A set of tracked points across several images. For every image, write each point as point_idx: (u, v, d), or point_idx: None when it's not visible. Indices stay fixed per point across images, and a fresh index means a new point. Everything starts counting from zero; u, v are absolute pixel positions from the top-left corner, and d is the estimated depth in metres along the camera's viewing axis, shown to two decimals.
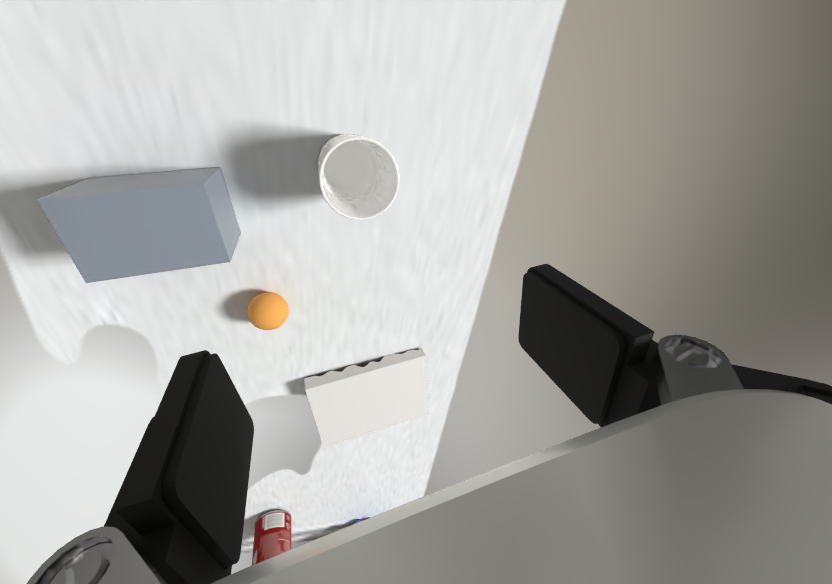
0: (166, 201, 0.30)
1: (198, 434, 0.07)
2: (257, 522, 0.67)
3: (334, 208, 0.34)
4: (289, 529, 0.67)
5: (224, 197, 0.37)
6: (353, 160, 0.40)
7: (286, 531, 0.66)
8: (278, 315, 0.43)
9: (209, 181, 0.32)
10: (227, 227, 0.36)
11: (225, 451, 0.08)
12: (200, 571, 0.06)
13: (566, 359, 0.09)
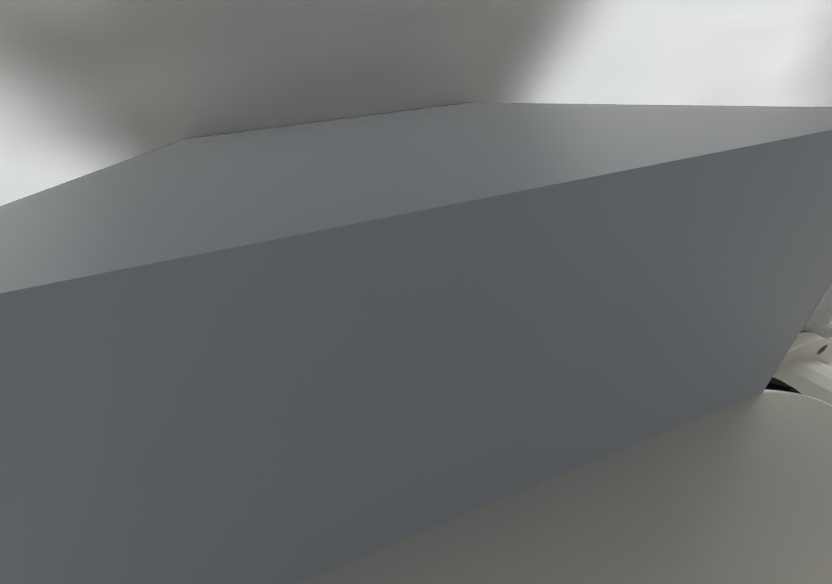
0: None
1: None
2: None
3: None
4: None
5: None
6: None
7: None
8: None
9: None
10: None
11: None
12: None
13: None
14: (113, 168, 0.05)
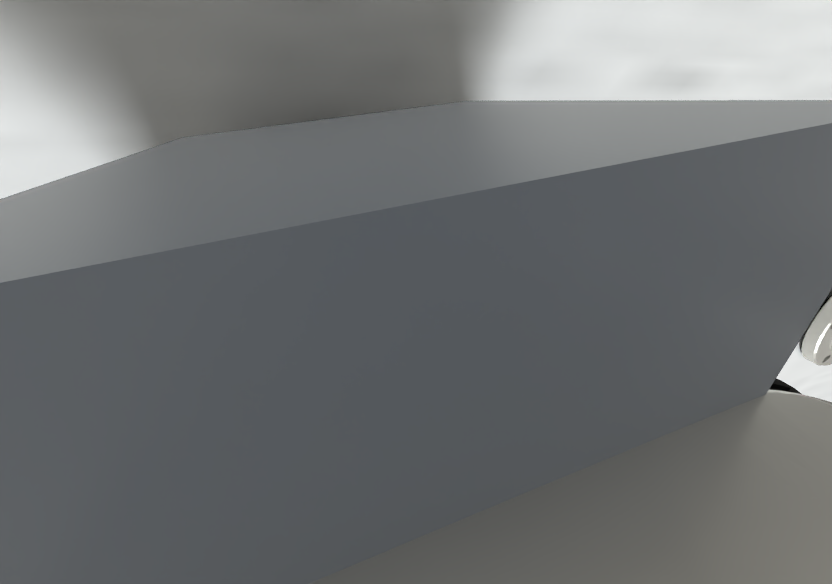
0: None
1: None
2: None
3: None
4: None
5: None
6: None
7: None
8: None
9: None
10: None
11: None
12: None
13: None
14: (109, 165, 0.05)
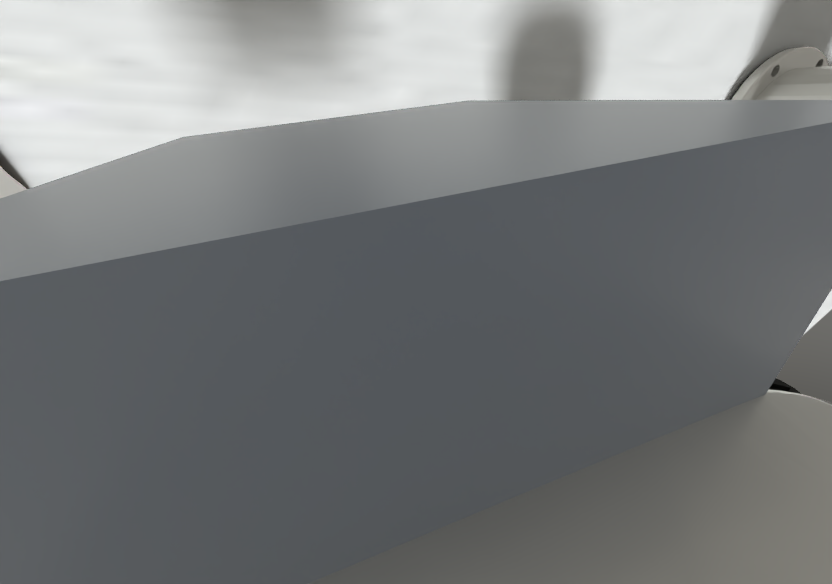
0: None
1: None
2: None
3: None
4: None
5: None
6: None
7: None
8: None
9: None
10: None
11: None
12: None
13: None
14: (109, 165, 0.05)
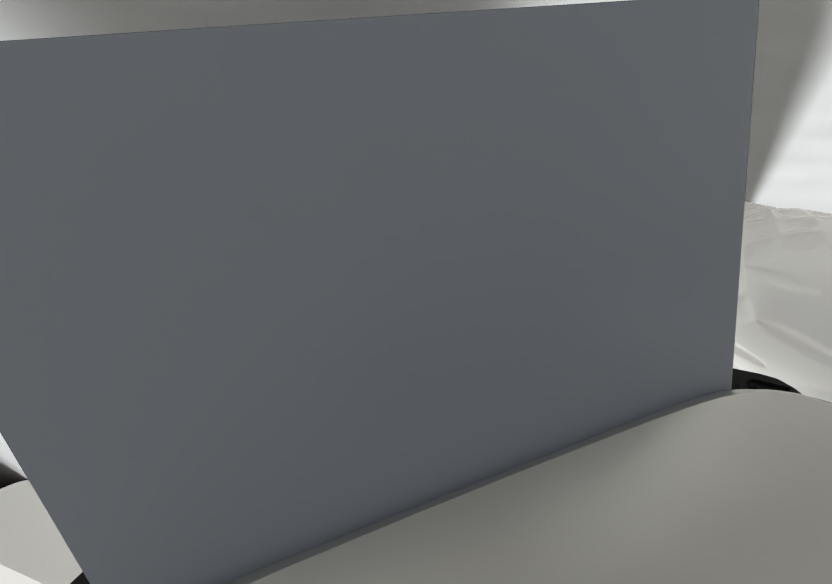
0: None
1: None
2: None
3: None
4: None
5: None
6: None
7: None
8: None
9: None
10: None
11: None
12: None
13: None
14: None
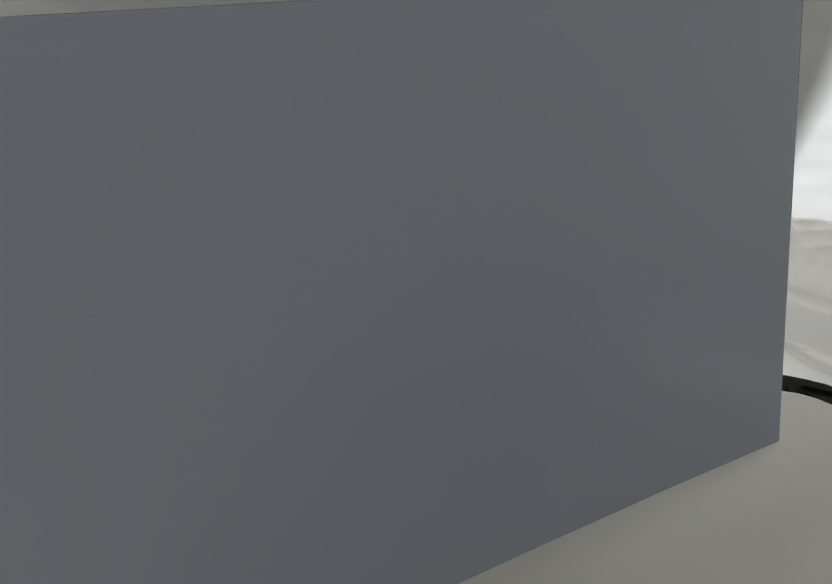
0: None
1: None
2: None
3: None
4: None
5: None
6: None
7: None
8: None
9: None
10: None
11: None
12: None
13: None
14: None
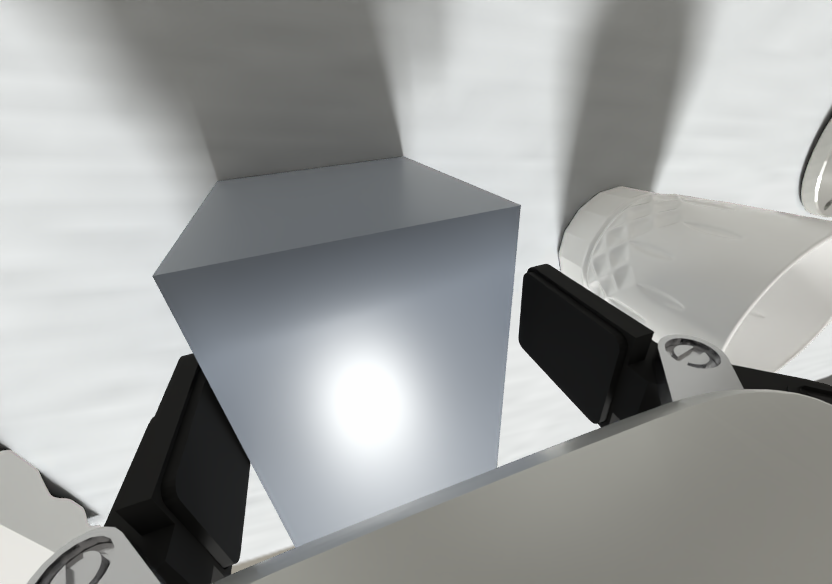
0: (470, 451, 0.12)
1: (198, 434, 0.07)
2: None
3: (786, 270, 0.12)
4: None
5: None
6: None
7: None
8: None
9: None
10: None
11: (225, 451, 0.08)
12: (200, 571, 0.06)
13: (566, 359, 0.09)
14: (202, 211, 0.10)
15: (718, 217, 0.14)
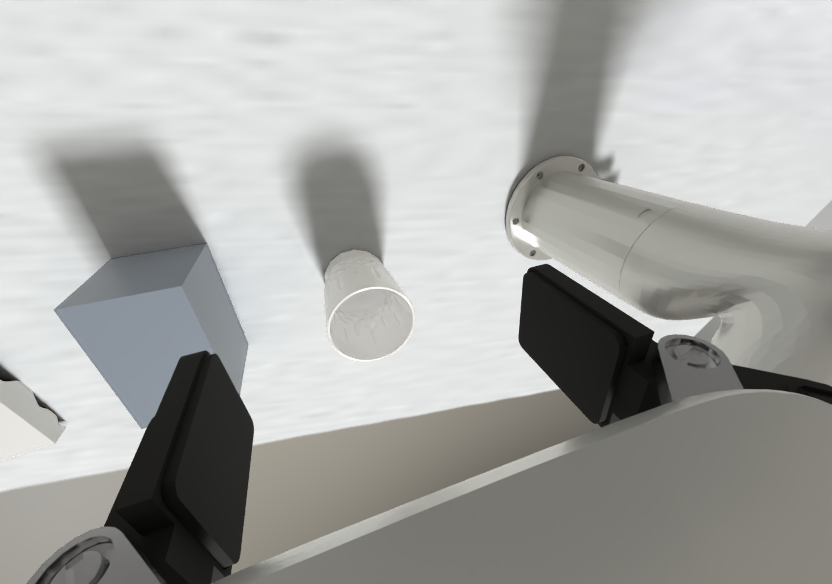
0: None
1: (198, 434, 0.07)
2: None
3: (338, 305, 0.28)
4: None
5: None
6: None
7: None
8: None
9: None
10: None
11: (225, 451, 0.08)
12: (200, 572, 0.06)
13: (566, 359, 0.09)
14: (88, 281, 0.26)
15: (346, 276, 0.30)
